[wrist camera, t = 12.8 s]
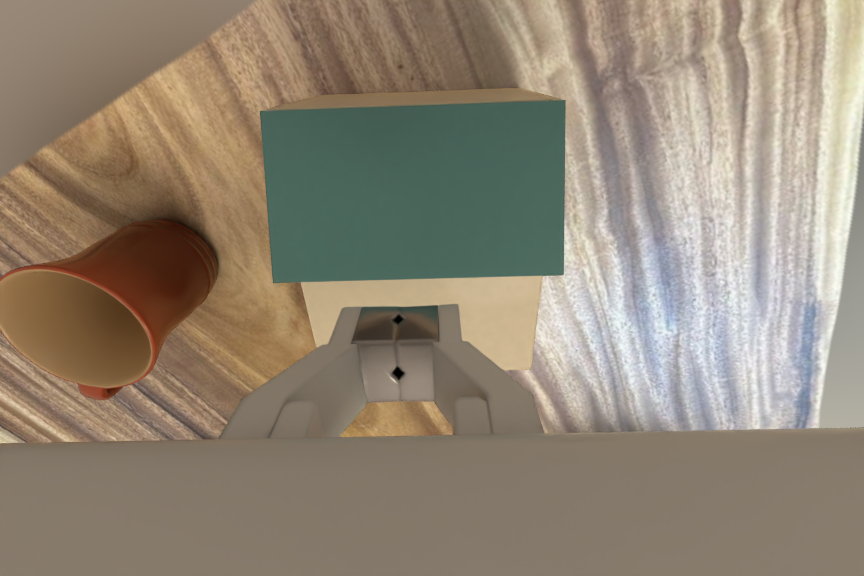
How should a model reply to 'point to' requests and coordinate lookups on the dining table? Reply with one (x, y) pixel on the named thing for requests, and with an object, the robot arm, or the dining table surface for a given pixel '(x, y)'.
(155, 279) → the mug
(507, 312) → the carton
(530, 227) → the flap
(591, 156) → the dining table surface
